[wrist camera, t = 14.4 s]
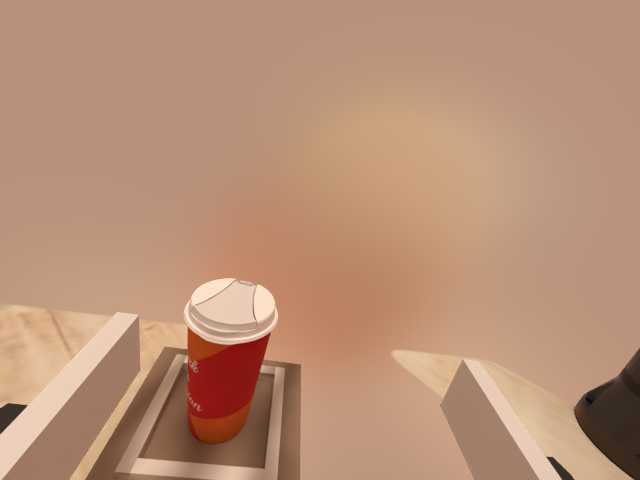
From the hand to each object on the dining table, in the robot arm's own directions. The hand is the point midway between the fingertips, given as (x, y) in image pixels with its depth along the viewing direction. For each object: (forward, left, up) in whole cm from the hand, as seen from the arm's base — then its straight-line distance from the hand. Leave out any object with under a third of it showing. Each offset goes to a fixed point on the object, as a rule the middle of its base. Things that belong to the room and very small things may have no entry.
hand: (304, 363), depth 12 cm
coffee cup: (+5, -14, -22) cm, 27 cm away
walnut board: (+5, -14, -23) cm, 27 cm away
